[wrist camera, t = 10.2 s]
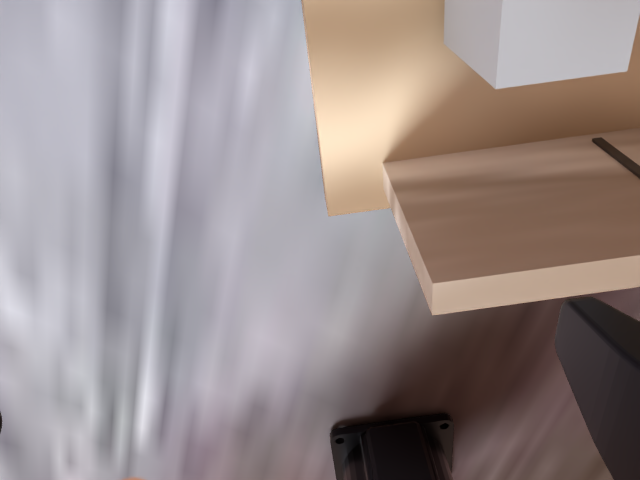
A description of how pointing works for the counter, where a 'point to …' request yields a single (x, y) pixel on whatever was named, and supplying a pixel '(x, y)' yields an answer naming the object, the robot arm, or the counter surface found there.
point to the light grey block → (541, 38)
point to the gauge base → (476, 158)
